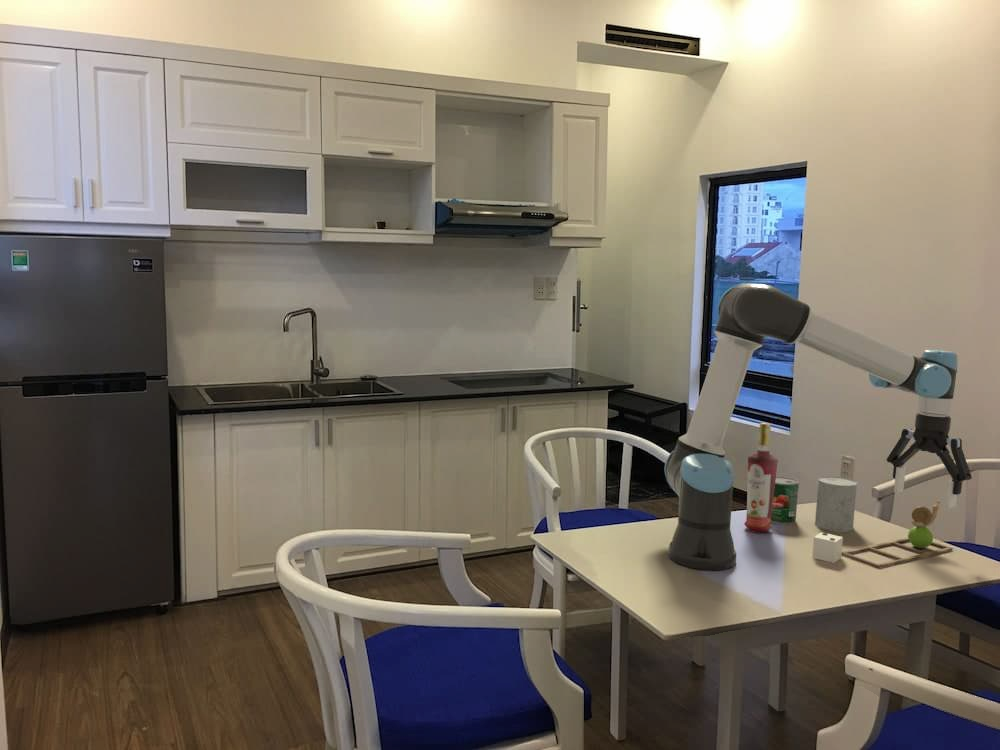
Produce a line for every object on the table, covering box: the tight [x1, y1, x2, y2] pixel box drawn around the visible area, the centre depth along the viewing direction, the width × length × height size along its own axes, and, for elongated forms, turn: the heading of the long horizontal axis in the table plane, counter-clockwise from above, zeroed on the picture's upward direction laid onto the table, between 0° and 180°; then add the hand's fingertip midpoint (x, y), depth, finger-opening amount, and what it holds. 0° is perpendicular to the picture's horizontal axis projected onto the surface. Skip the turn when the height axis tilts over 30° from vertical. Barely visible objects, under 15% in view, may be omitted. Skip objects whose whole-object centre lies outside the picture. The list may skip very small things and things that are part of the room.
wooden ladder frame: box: [841, 537, 954, 569], centre depth 195 cm, size 28×10×1 cm, turn 120°
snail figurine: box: [907, 499, 941, 549], centre depth 198 cm, size 5×6×12 cm
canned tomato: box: [771, 476, 800, 525], centre depth 218 cm, size 8×8×11 cm
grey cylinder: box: [814, 476, 858, 533], centre depth 214 cm, size 10×10×12 cm
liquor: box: [743, 422, 779, 534], centre depth 207 cm, size 7×7×28 cm
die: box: [811, 531, 844, 564], centre depth 189 cm, size 5×5×5 cm
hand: (923, 499), depth 198 cm, fingers open, 13 cm apart
